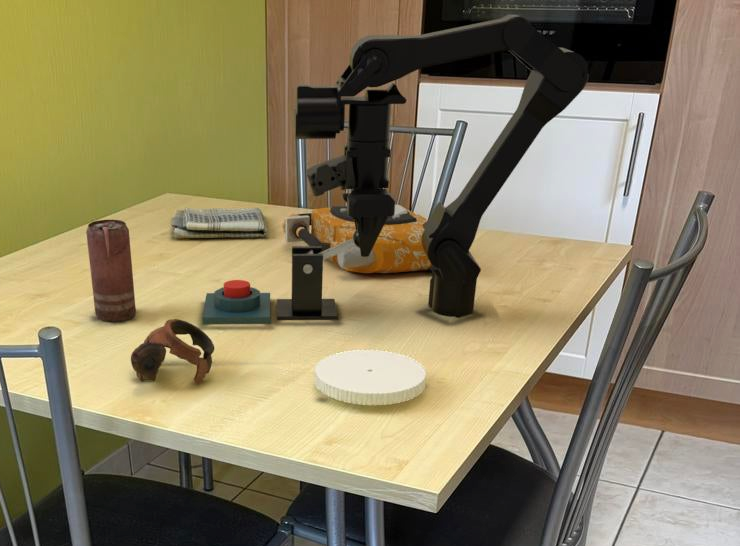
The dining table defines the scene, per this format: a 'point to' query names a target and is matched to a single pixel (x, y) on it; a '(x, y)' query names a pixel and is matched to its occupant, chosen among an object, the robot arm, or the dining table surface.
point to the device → (389, 253)
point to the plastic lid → (370, 377)
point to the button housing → (236, 308)
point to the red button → (236, 289)
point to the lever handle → (339, 247)
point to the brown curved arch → (172, 350)
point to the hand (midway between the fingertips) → (363, 251)
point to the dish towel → (219, 223)
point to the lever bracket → (306, 289)
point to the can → (111, 270)
